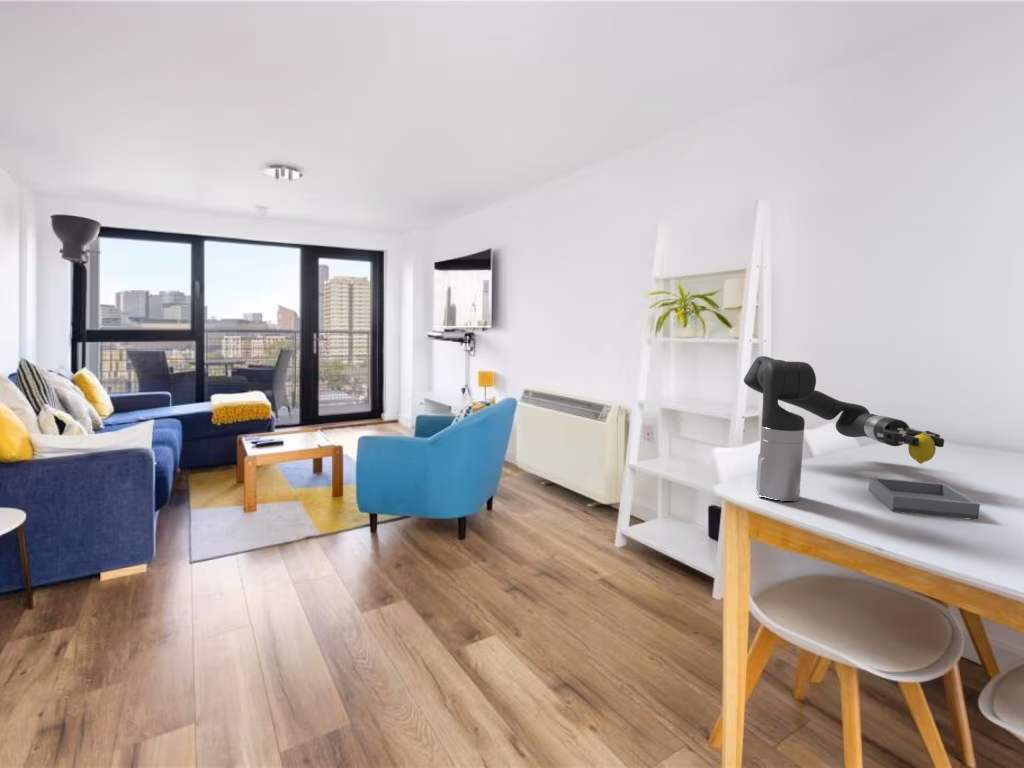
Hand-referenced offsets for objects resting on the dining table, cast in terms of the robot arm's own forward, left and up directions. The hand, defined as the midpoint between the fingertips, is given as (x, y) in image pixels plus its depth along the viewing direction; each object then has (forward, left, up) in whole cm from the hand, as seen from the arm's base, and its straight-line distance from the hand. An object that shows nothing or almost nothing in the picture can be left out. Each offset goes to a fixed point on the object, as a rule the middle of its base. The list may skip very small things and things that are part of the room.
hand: (929, 442), depth 133 cm
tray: (-6, -12, -13) cm, 18 cm away
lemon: (-1, +2, -6) cm, 7 cm away
